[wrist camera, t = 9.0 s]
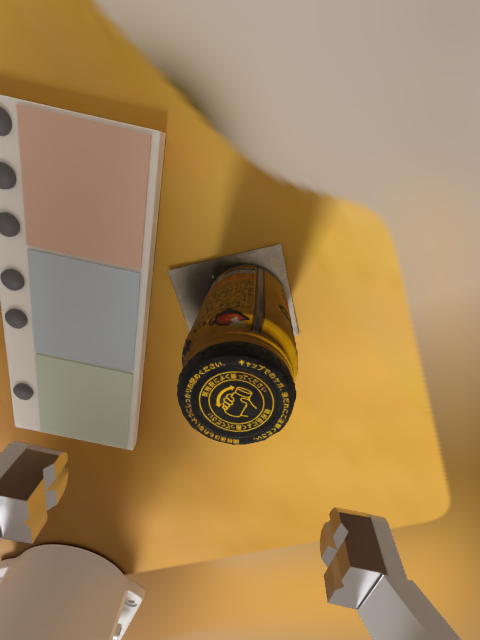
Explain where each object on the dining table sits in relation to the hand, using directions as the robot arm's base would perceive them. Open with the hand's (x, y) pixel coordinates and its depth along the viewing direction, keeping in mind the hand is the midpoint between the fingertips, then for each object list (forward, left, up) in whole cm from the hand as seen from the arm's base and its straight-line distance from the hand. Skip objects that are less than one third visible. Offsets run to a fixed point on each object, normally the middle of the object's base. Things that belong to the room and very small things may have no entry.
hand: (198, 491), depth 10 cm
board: (-3, +12, -16) cm, 21 cm away
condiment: (0, 0, -17) cm, 17 cm away
